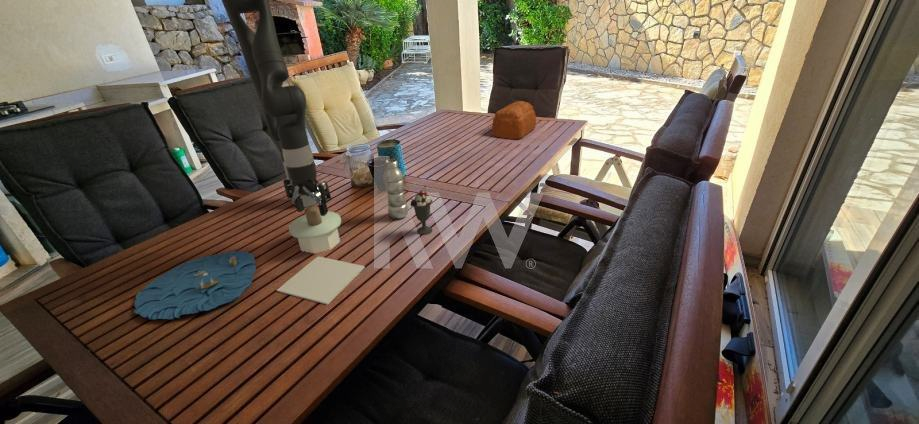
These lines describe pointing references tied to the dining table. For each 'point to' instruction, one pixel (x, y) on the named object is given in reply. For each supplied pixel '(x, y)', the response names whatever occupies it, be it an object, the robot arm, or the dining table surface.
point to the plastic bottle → (395, 190)
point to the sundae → (422, 211)
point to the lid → (314, 224)
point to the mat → (321, 280)
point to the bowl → (320, 242)
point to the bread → (514, 120)
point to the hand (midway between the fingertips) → (312, 212)
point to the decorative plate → (197, 285)
